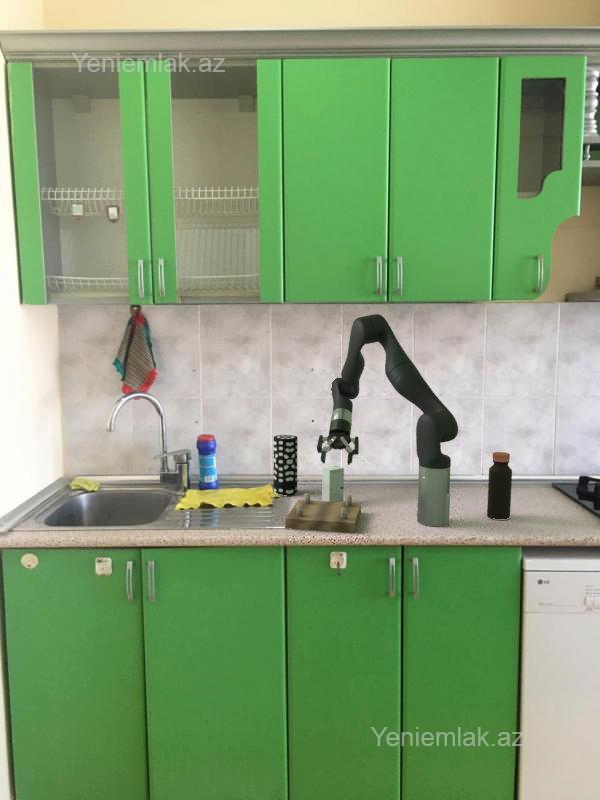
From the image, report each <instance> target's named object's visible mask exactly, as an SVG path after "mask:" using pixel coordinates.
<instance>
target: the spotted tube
mask: <svg viewBox="0 0 600 800" xmlns="http://www.w3.org/2000/svg"><path fill="white" fill-rule="evenodd" d="M298 439H299V438H298V436H297V435H293V434H278V435H274V436H273V474H272V475H273V479H272V480H273V484H272V485H273V486H272V487H273V489H272V490H274V492H276V493H278V494H280V495H287V497H292V496H293V497H294V496H296V495H297V494H298V447H299V446H298Z"/></svg>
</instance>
